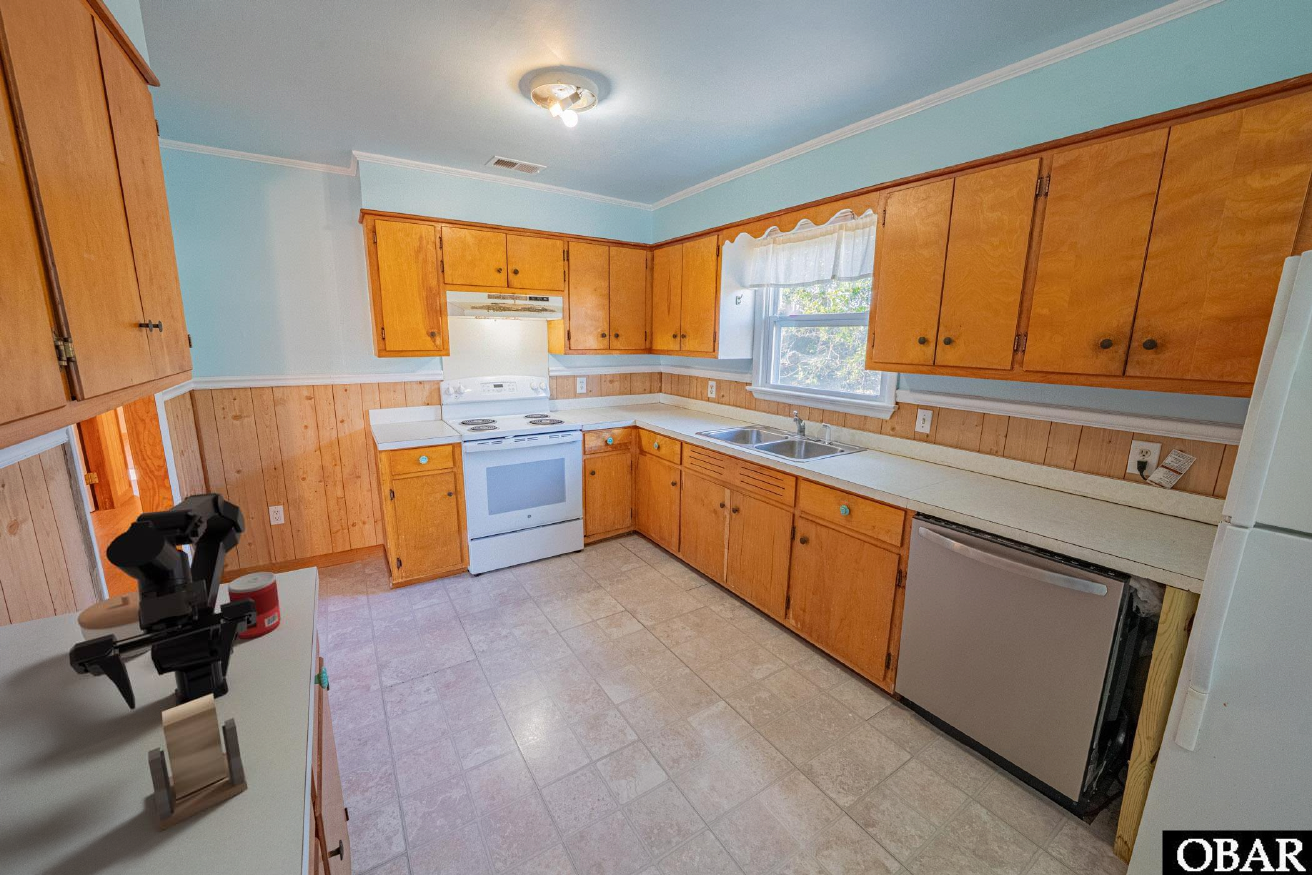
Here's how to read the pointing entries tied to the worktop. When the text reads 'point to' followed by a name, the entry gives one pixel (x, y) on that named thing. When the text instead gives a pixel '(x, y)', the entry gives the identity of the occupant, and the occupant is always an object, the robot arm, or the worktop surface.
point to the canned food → (258, 601)
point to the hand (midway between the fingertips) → (180, 692)
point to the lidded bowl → (113, 620)
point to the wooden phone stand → (204, 797)
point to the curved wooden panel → (194, 745)
